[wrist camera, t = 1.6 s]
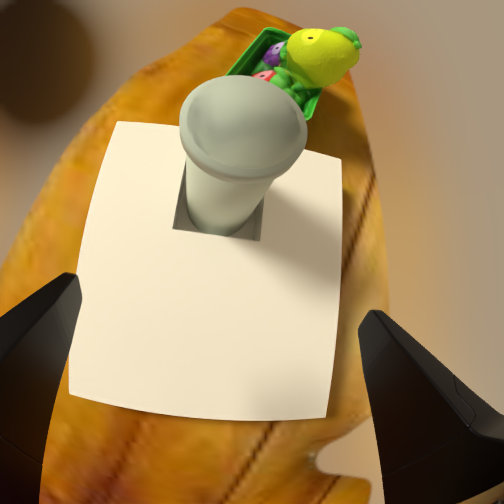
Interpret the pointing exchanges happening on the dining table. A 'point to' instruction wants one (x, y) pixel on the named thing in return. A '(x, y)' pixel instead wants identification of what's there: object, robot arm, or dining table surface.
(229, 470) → the dining table surface
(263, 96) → the grey cylinder
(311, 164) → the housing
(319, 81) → the fruit basket
